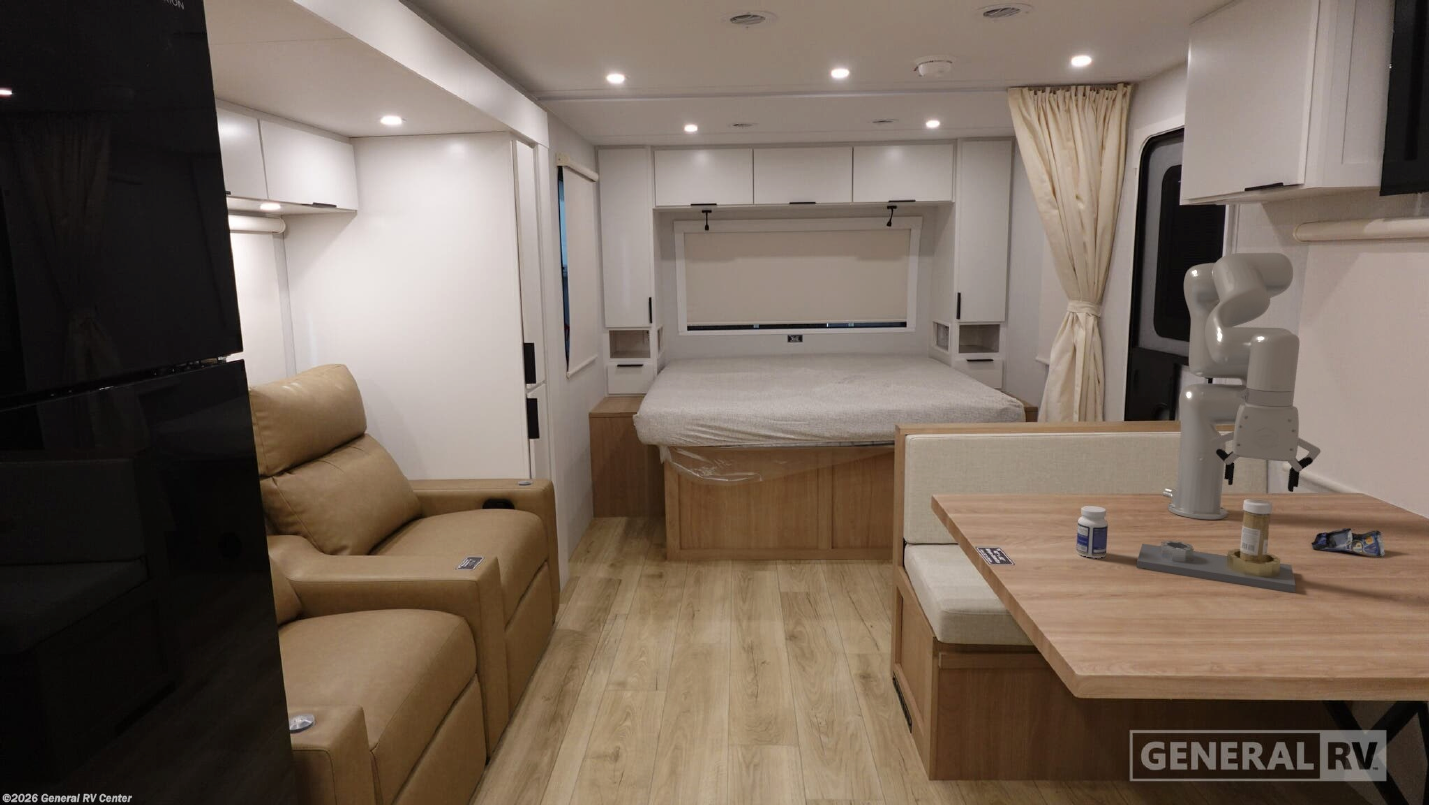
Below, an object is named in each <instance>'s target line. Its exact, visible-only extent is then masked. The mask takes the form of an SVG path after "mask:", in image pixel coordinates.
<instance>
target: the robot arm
mask: <svg viewBox="0 0 1429 805" xmlns="http://www.w3.org/2000/svg"><path fill="white" fill-rule="evenodd" d="M1293 279H1294V267H1293V264H1292V262H1291V260H1290V258H1289V257H1287V256H1286V255H1285V254H1283V253H1282V252H1281V253H1280V252H1237V253H1230V254H1227V255H1224V256H1222V257H1220V258H1219V259H1217V261H1216V262H1209V263H1201V264H1197V265H1193V266H1191V267H1189V269H1187V271H1186V273H1185V276H1184V281H1183V292H1184V294H1183V295H1184V298H1185V302H1186V305H1187V308H1188V311H1189V312H1188V313H1189V316H1190V329H1189V330H1190V331H1189V333H1190V334H1189V346H1188V347H1189V348H1188V350H1189V351H1188V367H1189V371H1190V372H1191V374H1192V375H1194V376H1196V377H1199V378H1206V379H1207V378H1208V379H1236V380H1237V379H1238V380H1240V381H1241V384H1233V383H1231V384H1230V383H1205V382H1204V383H1195V384H1194V383H1193V384H1190V385H1187V386H1185V387H1184V388H1183V389H1182V390H1181V392H1180V393H1179V398H1178V405H1179V416H1180V418H1179V419H1180V439H1179V452H1178V453H1179V454H1178V464H1177V465H1178V466H1177V476H1176V478H1177V479H1176V489H1174V488H1170V487H1166V488H1165V489H1164V491H1163V492H1162V497H1165V498H1170V499H1171V501H1170V502H1169V503H1168V504H1167V510H1168V511H1169V512H1171V513H1172V514H1175V515H1179V516H1182V517H1185V518H1191V519H1199V520H1222V519H1225V518H1226V517H1228V510H1227V509H1226V508H1224V507H1223V506H1222V504H1221V503H1222V492H1223V483H1224V482H1223V481H1224V480H1227V484H1228V486H1232V485H1233V484H1234V473H1235V462H1234V461H1236V460H1237V459H1239V458H1245V459H1254V460H1265V461H1266V460H1267V461H1274V462H1287V463H1288V464H1289V465H1290V466H1291V468H1289V471H1288V472H1289V473H1288V479H1287V480H1288V481H1287V491H1288V492H1290V493H1293V492H1294V488H1298V487H1299V482H1300V472H1302V471H1303V470H1304V469H1305V468H1307V467H1308V466H1310V465H1312V464H1313V462H1314V461H1315V459H1317V457H1318V456H1319V455H1320V454H1321V451H1322V450H1321V449H1320V448H1319V447H1318V446H1316V445H1314V444H1312V443H1310V442H1309V441H1306V440H1305V439H1303V438H1301V437H1299V429H1300V425H1299V424H1300V422H1299V421H1300V420H1299V410H1298V408H1297V407H1296V406H1294V398H1295V388H1296V380H1297V371H1298V370H1297V369H1298V362H1299V353H1300V341H1301V340H1300V338H1299V337H1298V335H1296V334H1294V333H1292V332H1291V331H1290V330H1289V329H1286V328H1282V327H1255V326H1254V327H1251V326H1250V327H1248V326H1245V327H1242V326H1241V325H1243V324H1245V323H1249V322H1251V321H1255V319H1257V318H1260V317H1261V316H1263V315H1264V314H1265V313H1266V312H1267V311H1268V309H1269V307H1270V304H1271V299H1272V298H1273V297H1276V296H1280V295H1281V294H1283V293H1285V292H1286V291H1287V290H1288V289H1289V288H1290V286H1291V284H1292V282H1293ZM1216 425H1231V426H1232V425H1234V430H1233V431H1231V432H1228V433H1226V434H1223V435H1222V434H1221V433H1220V432H1219V431H1218V429H1217V428H1216ZM1230 441H1232V444H1231V445H1232V446H1231V447H1232V448H1231V451H1230V452H1229V453H1227V452H1226V450H1227V448H1226V447H1227V446H1226V445H1227V444H1226V443H1227V442H1230ZM1298 447H1299V448H1302V449H1304V450H1305V451H1307V452H1308V453H1307V454H1306V456H1304V457H1303V458H1301V459H1300V460H1298V459H1297V455H1298Z"/></svg>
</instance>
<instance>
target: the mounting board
mask: <svg viewBox="0 0 1429 805" xmlns="http://www.w3.org/2000/svg"><path fill="white" fill-rule="evenodd" d="M1160 546H1161V545H1156V544H1155V545H1154V544H1149V543H1141V547H1140V550H1139V554H1138V558H1137V561H1136V568H1137V569H1141V568H1146V569H1145V570H1147V569H1149V570H1148V571H1153V572H1154V571H1155V572H1159V571H1161V573H1167V574H1173V575H1174V574H1175V575H1178V576H1184V577H1185V576H1186V577H1191V578H1198V579H1205V580H1209V581H1210V580H1212V581H1216V582H1223V583H1230V584H1235V585H1241V586H1248V587H1256V588H1261V589H1266V590H1267V589H1268V590H1272V591H1273V590H1274V591H1278V592H1279V591H1281V592H1286V593H1292V594H1295V592H1296V581H1295V575H1294V572H1293V567H1292V564H1286V563H1280V569H1279V575H1277V576H1273V577H1257V576H1251V575H1245V574H1242V573H1239V572H1236V571H1233V570H1231V569H1230V568H1228V567H1227V566H1226V565H1227V555H1226V554H1225V555H1224V554H1218V553H1217V554H1216V553H1211V552H1210V553H1209V552H1203V551H1197V550H1193V561H1189V562H1176V561H1170V560H1167V559H1164V558H1162V557H1161V555H1160Z"/></svg>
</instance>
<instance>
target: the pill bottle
mask: <svg viewBox="0 0 1429 805" xmlns="http://www.w3.org/2000/svg"><path fill="white" fill-rule="evenodd" d="M1080 514H1081V516H1080V517H1079V518H1078V520H1077V531H1076V532H1077V533H1076V550H1075V551H1076V553H1077V555H1079V556H1080V555H1083V556H1086V557H1085V558H1087V557H1093V558H1092V559H1095V558H1097V559H1102V558H1101V557H1103V558H1104V557H1106V556H1107V547H1108V546H1107V545H1108V528H1109V527H1108V526H1109V523H1108V521H1107V519H1105V517H1107V510H1106V508H1105V507H1100V506H1096V505H1095V506H1094V505H1093V506H1092V505H1086V506H1082V507H1081V509H1080ZM1083 556H1082V557H1083Z"/></svg>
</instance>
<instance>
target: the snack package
mask: <svg viewBox="0 0 1429 805" xmlns="http://www.w3.org/2000/svg"><path fill="white" fill-rule="evenodd" d="M1355 530H1356V529H1354V528H1353V531H1355ZM1315 536H1316V537H1315V538H1314V541H1313V542H1311V547H1312V550H1315V551H1326V552H1327V551H1328V552H1348V553H1351V554H1355V555H1360V556H1363V557H1364V556H1366V557H1367V555H1368V557H1372V558H1373V557H1379V558H1382V557H1384V556H1385V554H1386V553H1385V545H1384V542H1383V535H1382V533H1381V531H1379V530H1370V531H1368V532H1365V533H1355V532H1352V528H1350V527H1349V528H1348V527H1347V528H1342V529H1337V530H1332V531H1329V532H1318V533H1317V534H1316V535H1315ZM1362 552H1365V553H1364V554H1362ZM1366 553H1367V554H1366ZM1365 554H1366V555H1365ZM1369 554H1370V555H1369ZM1373 555H1374V556H1373ZM1380 555H1381V556H1380Z"/></svg>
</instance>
